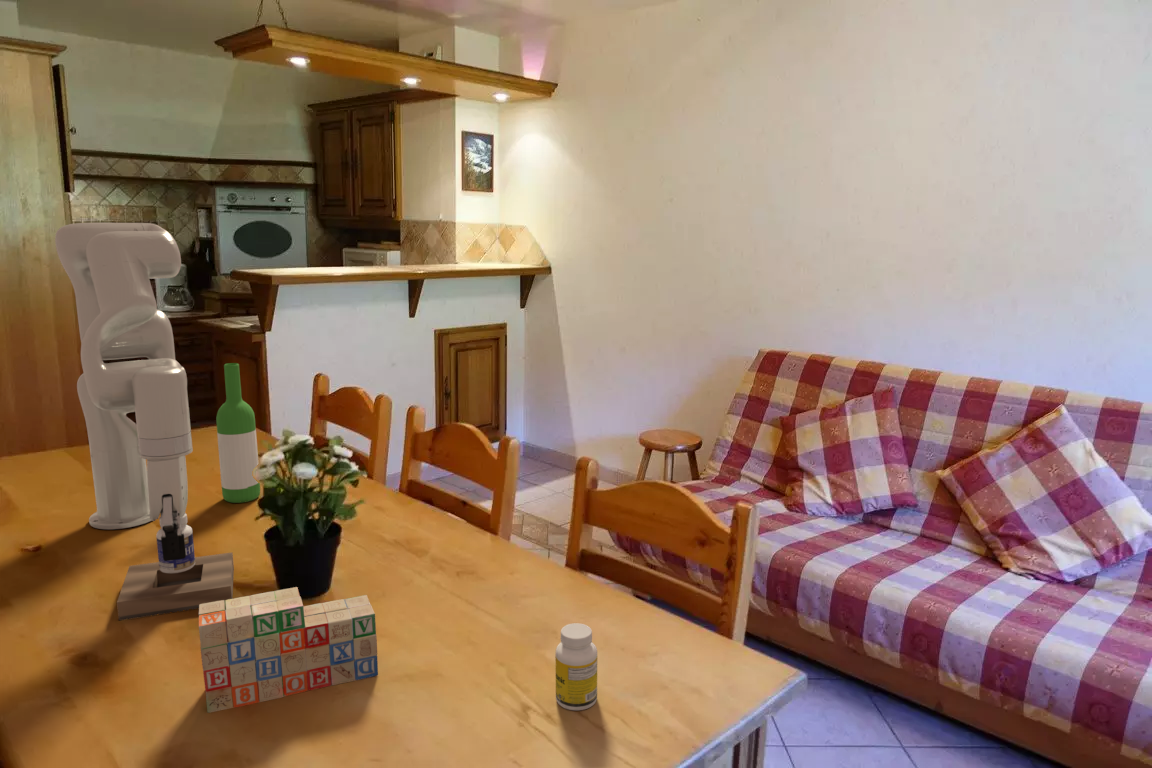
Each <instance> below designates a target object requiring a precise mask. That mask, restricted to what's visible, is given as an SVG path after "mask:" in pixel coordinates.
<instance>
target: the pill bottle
mask: <svg viewBox="0 0 1152 768" xmlns="http://www.w3.org/2000/svg"><path fill="white" fill-rule="evenodd" d="M174 516H177V513H173V517H174ZM158 519H159V526H160V529H159V530H158V531H156V535H155V536H156V545H157V556H158V557H157V558H158V562H159V568H160V571H162V572H164V573H180V572H184V571H187V570H189V569H191V568H192V567H193V566H194V565H195V557H196V556H195V545H194V543H195V542H194V534H193V533H194V532H193V528H192V527H191V526H190V525H188V524H187V523H188V514H187V513H186V512H185V514H184V516H183V517H181V529H182V534H184V541H185V551H186V557H185V558H184V559H177V560H170V561H164V560H163V551H162V541H161V536H162V531H161V516H159V518H158ZM173 522H174V523H176V525H177V520H173ZM186 524H187V525H186Z"/></svg>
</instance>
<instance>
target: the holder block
mask: <svg viewBox="0 0 1152 768" xmlns="http://www.w3.org/2000/svg"><path fill="white" fill-rule="evenodd" d="M234 567H235V565H234V554H233V552H225V553H219V554H218V553H217V554H208V555H202V556H195V565H194V566H193V567H192V568H191V569H189V570H187V571H184V572H180V573H164V572H162V571H160V568H159V561H157V562H149V563H142V564H140V563H139V564H135V565H134V564H133V565H129V566H128V569H127V571H126V575H125V578H124V580H123V581H124V582H123V583H122V587H121V589H120V592H119V596H118V597H117V601H116V606H117V607H116V608H117V616H118V621H125V620H132V619H139V618H145V617H151V615H152V616H158V615H157V614H159V615H165V614H171V613H170V612H172V613H177V611H179V612H184V611H183V610H185V611H190V610H189V609H192V610H196V609H197V608H198V609H199V605H200V604H203V603H209V602H215V601H221V600H224V601H225V600H228V599H233V596H234V595H233V594H234V593H233V591H234V571H235V569H234ZM164 613H165V614H164Z"/></svg>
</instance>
